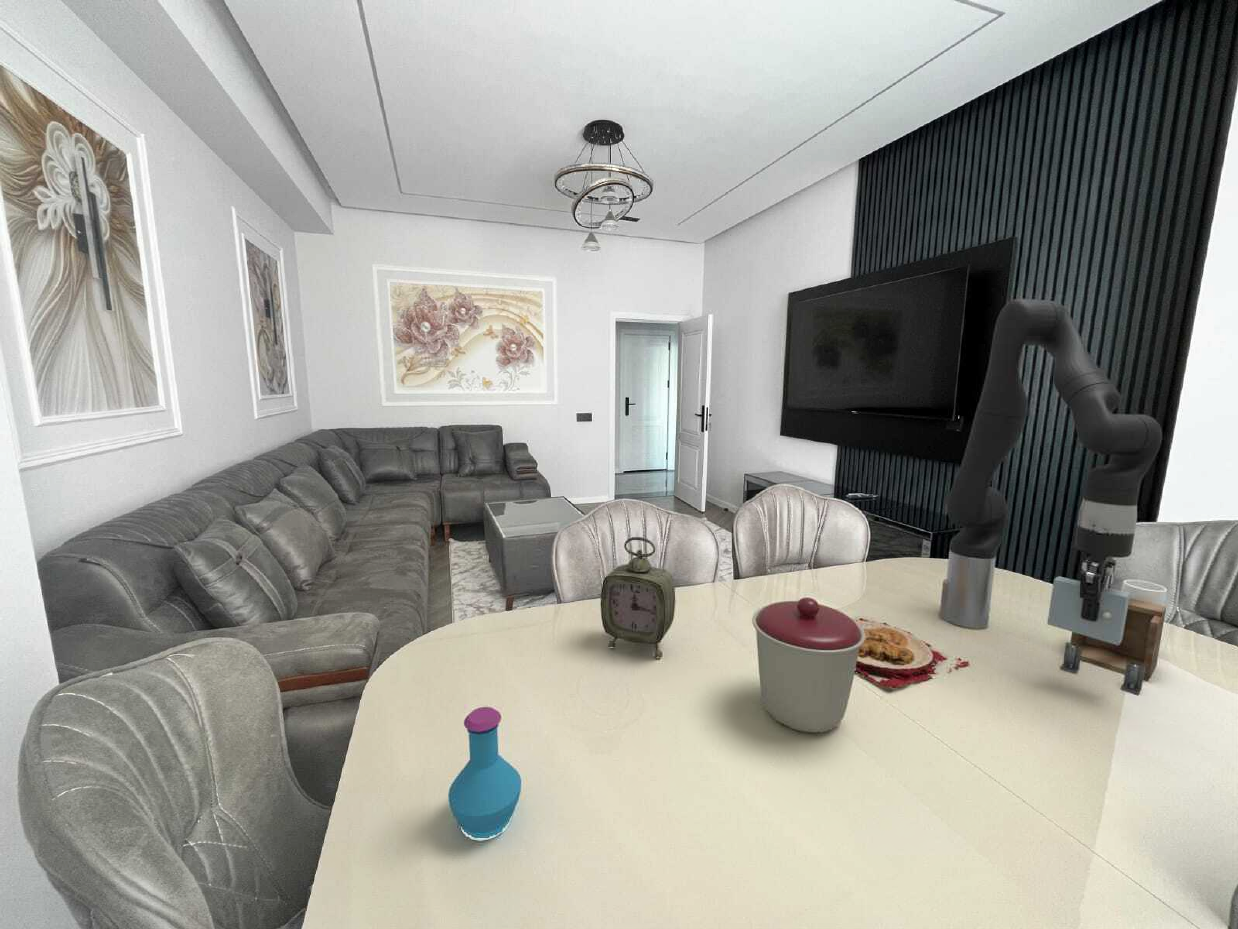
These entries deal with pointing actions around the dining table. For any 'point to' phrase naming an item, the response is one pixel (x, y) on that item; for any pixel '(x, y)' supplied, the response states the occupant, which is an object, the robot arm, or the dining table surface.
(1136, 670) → the hinge clips
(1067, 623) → the door
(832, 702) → the canister
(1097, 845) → the dining table surface
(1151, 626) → the cabinet
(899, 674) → the plate with food
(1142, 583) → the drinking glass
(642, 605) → the tabletop clock
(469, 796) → the perfume bottle
